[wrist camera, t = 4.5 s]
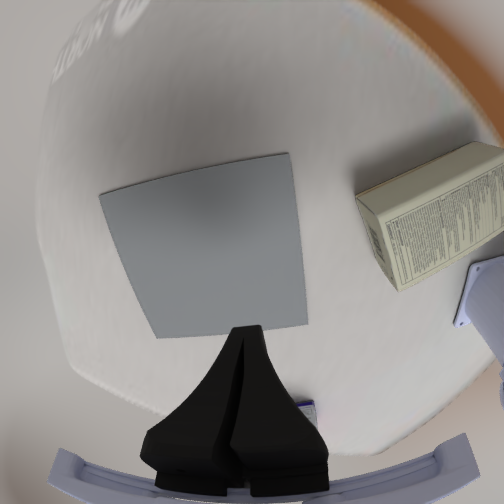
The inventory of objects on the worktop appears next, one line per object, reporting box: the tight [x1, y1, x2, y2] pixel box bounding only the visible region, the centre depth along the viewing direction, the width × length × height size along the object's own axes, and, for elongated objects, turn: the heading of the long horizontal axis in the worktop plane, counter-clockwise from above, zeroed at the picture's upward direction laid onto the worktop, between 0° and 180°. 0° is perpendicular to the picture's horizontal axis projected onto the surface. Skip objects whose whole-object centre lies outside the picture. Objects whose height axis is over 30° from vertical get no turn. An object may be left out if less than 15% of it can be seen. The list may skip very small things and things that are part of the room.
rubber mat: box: [99, 154, 308, 339], centre depth 20 cm, size 14×14×1 cm
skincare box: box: [355, 142, 504, 292], centre depth 16 cm, size 6×4×12 cm
